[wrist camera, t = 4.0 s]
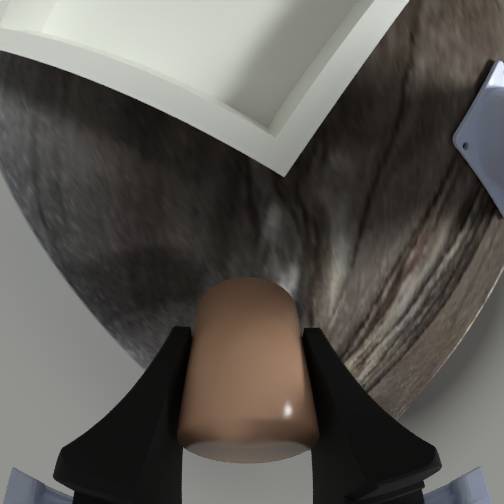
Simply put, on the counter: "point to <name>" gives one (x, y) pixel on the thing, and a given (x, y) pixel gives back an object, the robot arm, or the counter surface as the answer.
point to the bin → (212, 59)
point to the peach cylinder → (247, 377)
